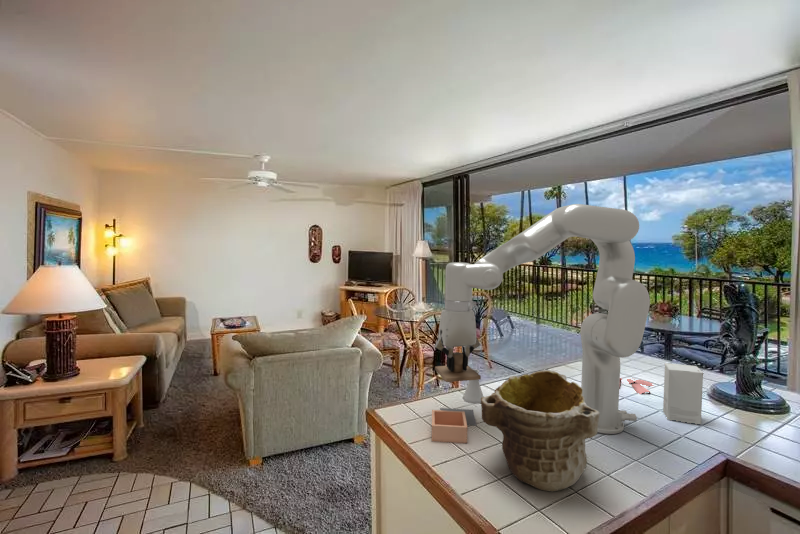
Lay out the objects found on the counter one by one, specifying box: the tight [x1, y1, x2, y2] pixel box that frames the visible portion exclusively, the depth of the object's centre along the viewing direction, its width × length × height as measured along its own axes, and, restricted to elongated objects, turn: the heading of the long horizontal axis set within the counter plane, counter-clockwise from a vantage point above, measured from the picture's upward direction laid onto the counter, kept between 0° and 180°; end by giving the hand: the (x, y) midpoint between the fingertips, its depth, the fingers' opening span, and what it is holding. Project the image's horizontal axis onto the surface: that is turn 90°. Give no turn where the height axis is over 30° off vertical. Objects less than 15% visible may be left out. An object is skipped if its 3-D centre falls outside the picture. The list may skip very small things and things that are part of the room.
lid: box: [434, 351, 482, 383], centre depth 106 cm, size 10×10×6 cm
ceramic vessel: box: [480, 369, 600, 492], centre depth 82 cm, size 23×24×25 cm
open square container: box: [431, 409, 468, 444], centre depth 99 cm, size 9×9×4 cm
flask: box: [462, 368, 485, 405], centre depth 121 cm, size 7×7×10 cm
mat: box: [439, 407, 477, 427], centre depth 109 cm, size 10×10×1 cm
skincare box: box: [662, 362, 704, 425], centre depth 109 cm, size 8×7×16 cm
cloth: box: [619, 377, 654, 395], centre depth 135 cm, size 20×22×2 cm
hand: (457, 368), depth 106 cm, fingers closed on lid, 3 cm apart
